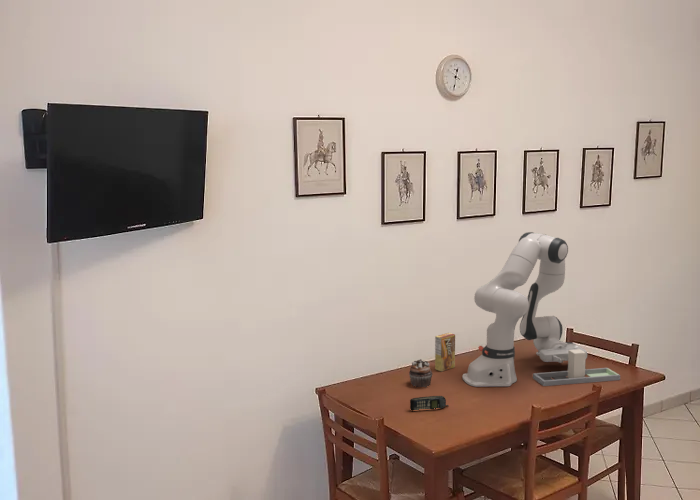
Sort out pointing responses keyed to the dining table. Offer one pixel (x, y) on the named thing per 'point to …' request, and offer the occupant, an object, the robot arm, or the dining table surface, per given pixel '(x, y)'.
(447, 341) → the candy box
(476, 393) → the dining table surface
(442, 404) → the mobile phone
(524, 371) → the dining table surface
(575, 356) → the ivory block
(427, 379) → the cupcake
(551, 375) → the tray
